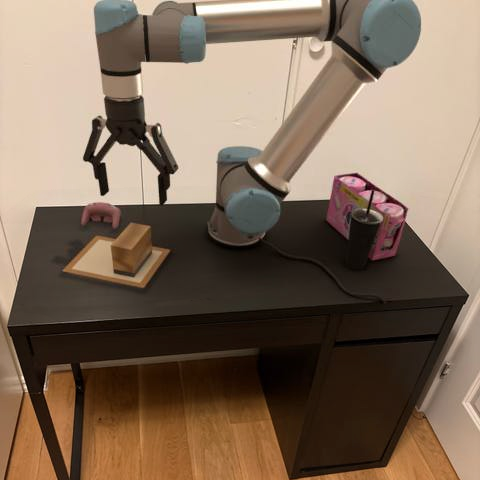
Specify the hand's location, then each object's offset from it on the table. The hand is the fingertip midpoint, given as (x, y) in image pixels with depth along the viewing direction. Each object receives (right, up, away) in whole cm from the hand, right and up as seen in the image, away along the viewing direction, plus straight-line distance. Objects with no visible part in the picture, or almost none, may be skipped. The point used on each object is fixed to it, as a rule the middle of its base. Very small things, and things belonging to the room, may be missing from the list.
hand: (133, 198), depth 111 cm
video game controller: (-14, -2, +25) cm, 28 cm away
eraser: (-2, -13, +10) cm, 16 cm away
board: (-6, -13, +11) cm, 18 cm away
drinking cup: (+52, -13, +17) cm, 56 cm away
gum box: (+56, -4, +28) cm, 62 cm away
